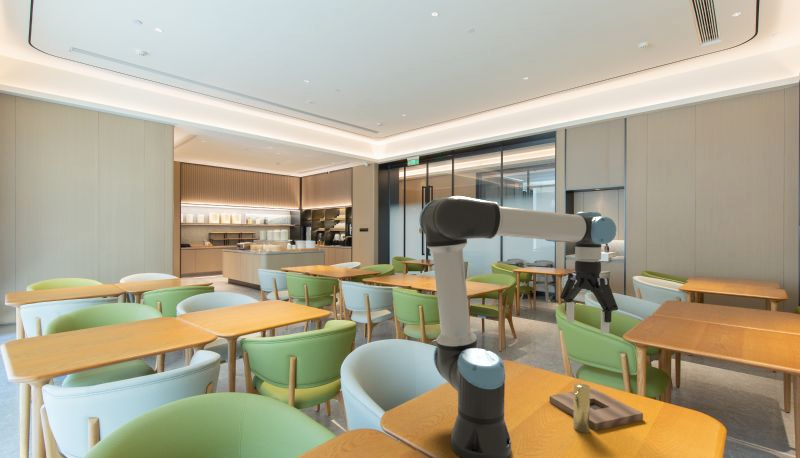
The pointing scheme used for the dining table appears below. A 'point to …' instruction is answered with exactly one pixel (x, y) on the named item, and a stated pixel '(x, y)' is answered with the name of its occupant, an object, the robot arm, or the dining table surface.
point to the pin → (581, 407)
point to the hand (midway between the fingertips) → (586, 326)
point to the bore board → (599, 409)
